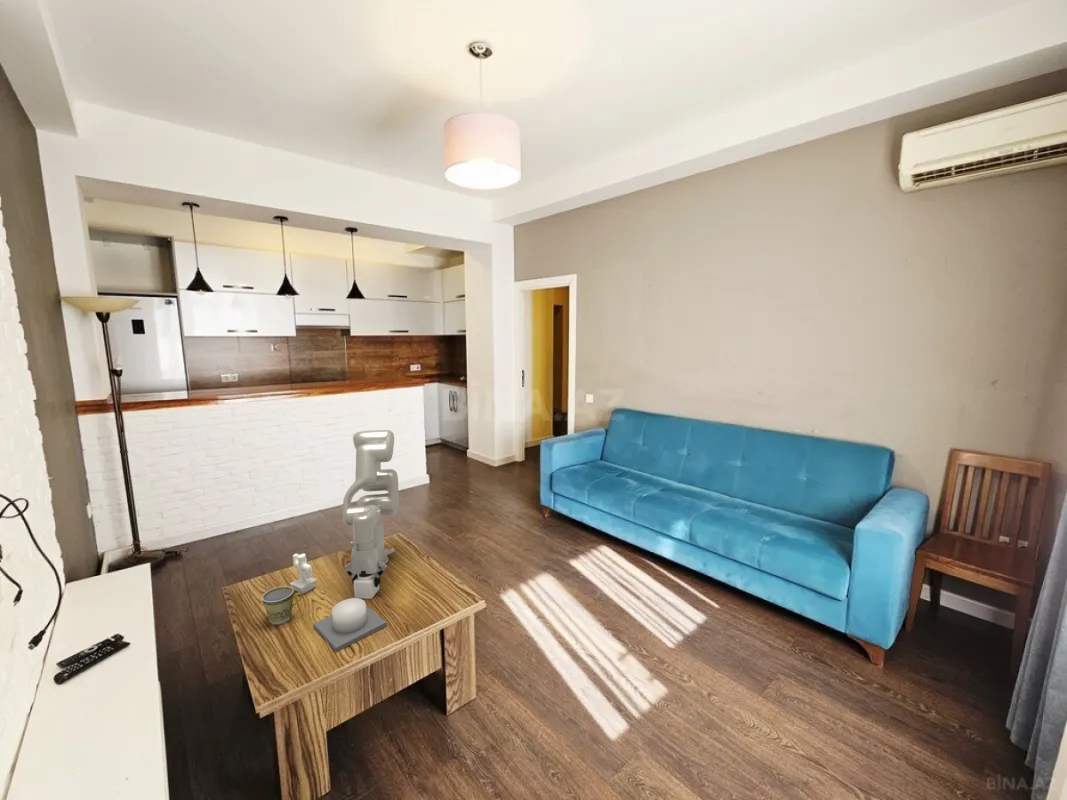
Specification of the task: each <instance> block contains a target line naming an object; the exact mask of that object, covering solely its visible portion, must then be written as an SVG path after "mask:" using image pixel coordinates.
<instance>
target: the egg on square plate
mask: <svg viewBox="0 0 1067 800" xmlns="http://www.w3.org/2000/svg"><path fill="white" fill-rule="evenodd" d="M386 627H387V621H386V620H384V619H383V618H382V617H381V616H380V615H379V614H378V613H376V612H375V611H374V610H373V609H372V608H370V607H369V606H368V605H367V604H366V601H365V599H364V600H363V598H355V597H351V598H347V599H344V600H342V601H341V600H340V601H339V602H337V603H336V604H335V605H334V606H333V607H332V609H331V615H329V616H328V617H325V618H323V619H321V620H318V621H316V622H313V628H314V631H316V632H317V633H318V634H319V636H321V638H323V639H324V641H326V643H327V644H328V645H329V646H330V648H331V649H333V650H334V652H335V653H337V652H339V651H342V650H343V649H345V648H347V647H349V646H350V645H353V644H354V643H357V642H359V641H360V640H363V639H365V638H366V637H368V636H370V635H372V634H374V633H376V632H378V631H380V630H381V629H384V628H386Z"/></svg>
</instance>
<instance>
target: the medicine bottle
mask: <svg viewBox="0 0 1067 800" xmlns="http://www.w3.org/2000/svg"><path fill="white" fill-rule="evenodd" d="M357 575H358V577H357V578H356V579H355V581H354V585H353V595H354V596H353V598H359V599H364V600H365V599H366V600H372V599H373V598H374V597H375V595H376V594H377V592H378V591H379V590H380V584H379V585H378V587H375V577H376V576H375V575H374V574H366V571H361V574H357Z"/></svg>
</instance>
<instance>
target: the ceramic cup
mask: <svg viewBox="0 0 1067 800" xmlns="http://www.w3.org/2000/svg"><path fill="white" fill-rule="evenodd" d="M297 595H301V598H299V599H297V601H296V602H295V603H294V604H293V601H294V598H295V597H296V596H297ZM303 598H304V594H302V593H301V592H297V591H296V592H295V589H294V588H293V587H292V586H291V585H290V586H289V585H283V586H282V585H281V586H277V587H273V588H271V589H269V590H267V591H266V592H264V594H262V597H261V599H262V604H263V607H264V609H265V612H266V616H267V618H268V621H269V623H270V624H272V625H274V626H275V625H282V624H284V623H286V622H287V621H289V620H290V619H291V615H292V610H293V608H294V606H296V604H298V602H300V601H301V600H302V599H303Z"/></svg>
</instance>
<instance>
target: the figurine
mask: <svg viewBox="0 0 1067 800" xmlns="http://www.w3.org/2000/svg"><path fill="white" fill-rule="evenodd" d="M307 561H308V560H307V555H306V553H304V552H303V553H301V554H299V553H295V554H292V562H293V567H294V568H296V569H298V574H299V576H298V577H299V578H297V579H295V580H293V581H292V582H290V583H289V584H290V587H292V588H293V589H294V591H296V593H297V592H301V593H302V594H303V595H304V594H305V593H308V592H309V591H311V590H312V589H314V587H315V585H316V584H317V581H318V578H315V577H313V568H312V567H313V566H312V565H311V564H309V563H307Z"/></svg>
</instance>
